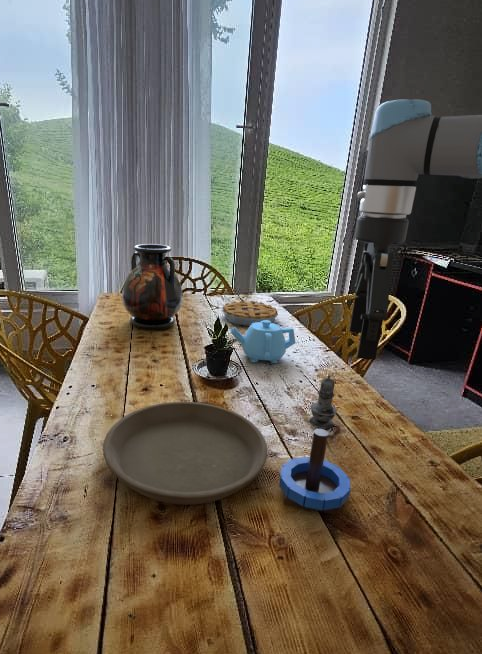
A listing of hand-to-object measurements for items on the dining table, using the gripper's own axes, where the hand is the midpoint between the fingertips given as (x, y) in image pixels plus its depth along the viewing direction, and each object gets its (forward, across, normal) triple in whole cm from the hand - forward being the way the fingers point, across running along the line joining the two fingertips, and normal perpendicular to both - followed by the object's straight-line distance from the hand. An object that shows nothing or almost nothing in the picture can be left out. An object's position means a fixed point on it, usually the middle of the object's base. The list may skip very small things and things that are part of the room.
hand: (361, 344), depth 77 cm
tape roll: (+24, +9, -5) cm, 26 cm away
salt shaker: (+26, -17, -3) cm, 31 cm away
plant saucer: (+25, +6, -30) cm, 39 cm away
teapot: (+25, -52, -20) cm, 61 cm away
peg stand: (+26, +9, -6) cm, 28 cm away
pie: (+25, -91, -28) cm, 99 cm away
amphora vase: (+24, -72, -62) cm, 98 cm away
